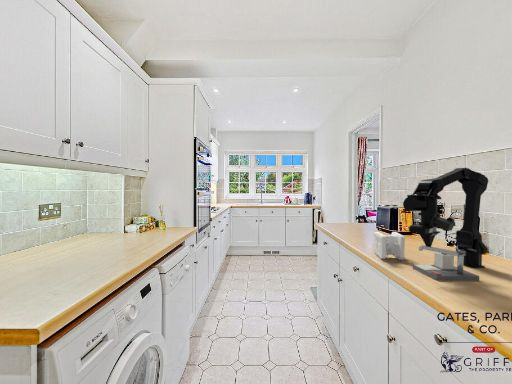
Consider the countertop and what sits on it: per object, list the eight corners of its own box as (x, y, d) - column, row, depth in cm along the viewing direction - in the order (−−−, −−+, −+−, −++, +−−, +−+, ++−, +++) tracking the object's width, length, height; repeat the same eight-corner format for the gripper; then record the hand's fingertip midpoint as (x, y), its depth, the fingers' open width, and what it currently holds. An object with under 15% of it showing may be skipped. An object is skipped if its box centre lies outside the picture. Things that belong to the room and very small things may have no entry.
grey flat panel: (450, 268, 107) (450, 263, 107) (479, 280, 94) (479, 274, 94) (412, 268, 107) (412, 263, 107) (436, 280, 93) (436, 274, 93)
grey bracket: (421, 262, 108) (421, 242, 108) (466, 274, 95) (466, 250, 94) (417, 263, 107) (418, 243, 107) (462, 275, 93) (463, 251, 93)
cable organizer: (405, 262, 116) (406, 236, 116) (380, 260, 118) (381, 235, 118) (394, 253, 131) (394, 231, 130) (372, 252, 133) (372, 230, 132)
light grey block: (444, 265, 105) (445, 251, 105) (453, 269, 101) (454, 254, 101) (434, 265, 105) (434, 251, 105) (442, 269, 101) (442, 253, 101)
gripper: (438, 213, 94) (438, 256, 94) (463, 210, 103) (462, 249, 103) (408, 211, 103) (408, 249, 104) (432, 208, 113) (432, 244, 113)
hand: (428, 248), depth 106 cm, fingers closed
